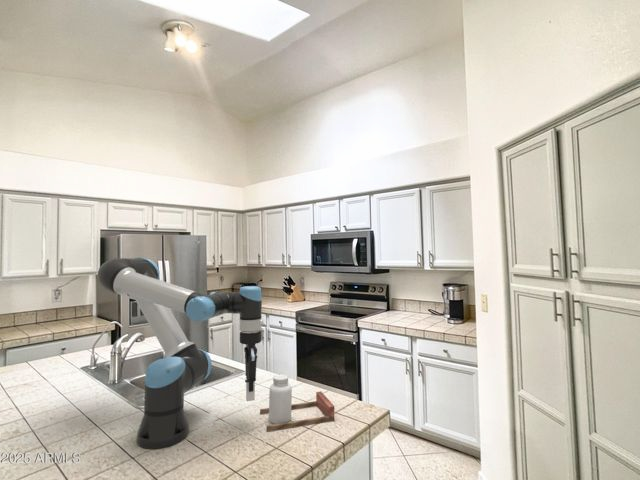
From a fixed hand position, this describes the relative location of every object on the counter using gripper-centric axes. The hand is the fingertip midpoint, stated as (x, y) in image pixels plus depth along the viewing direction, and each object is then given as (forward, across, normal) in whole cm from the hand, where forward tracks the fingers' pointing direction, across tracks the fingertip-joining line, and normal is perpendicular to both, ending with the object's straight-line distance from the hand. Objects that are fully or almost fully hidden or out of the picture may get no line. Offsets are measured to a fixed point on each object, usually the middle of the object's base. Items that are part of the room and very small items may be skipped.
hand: (250, 399), depth 117 cm
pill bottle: (+9, 0, -10) cm, 14 cm away
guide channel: (+9, 0, -16) cm, 19 cm away
